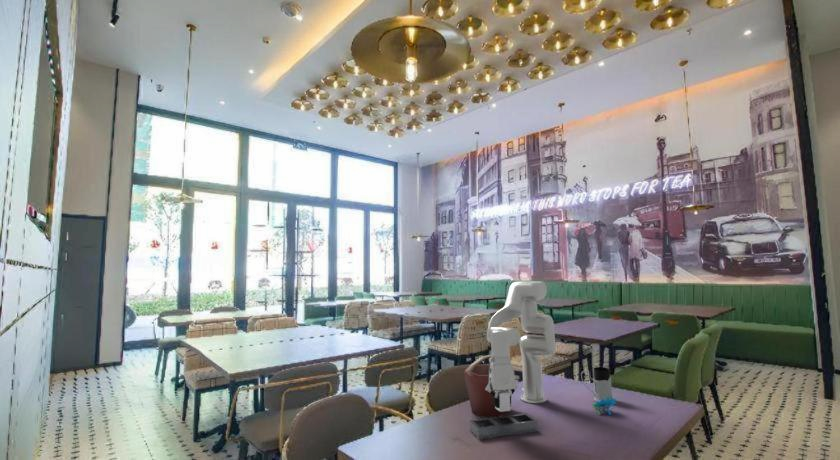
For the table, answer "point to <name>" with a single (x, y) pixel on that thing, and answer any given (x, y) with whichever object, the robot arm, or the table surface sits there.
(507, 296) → the robot arm
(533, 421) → the grey compartment tray
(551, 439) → the table surface
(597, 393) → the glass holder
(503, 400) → the white slotted box
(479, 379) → the bucket
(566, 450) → the table surface
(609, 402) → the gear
